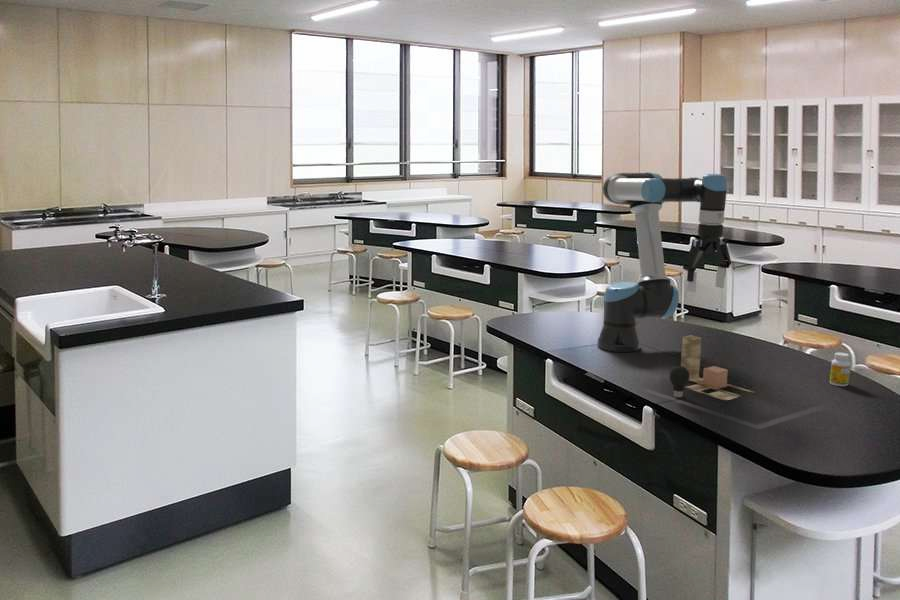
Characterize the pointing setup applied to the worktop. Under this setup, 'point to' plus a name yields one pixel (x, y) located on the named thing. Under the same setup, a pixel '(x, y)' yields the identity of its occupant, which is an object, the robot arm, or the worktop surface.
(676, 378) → the light bulb
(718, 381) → the terracotta cube
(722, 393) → the broken strip
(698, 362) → the tan boxy piece
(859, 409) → the worktop surface
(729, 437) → the worktop surface
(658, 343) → the worktop surface
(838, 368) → the supplement bottle
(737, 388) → the lane rails
